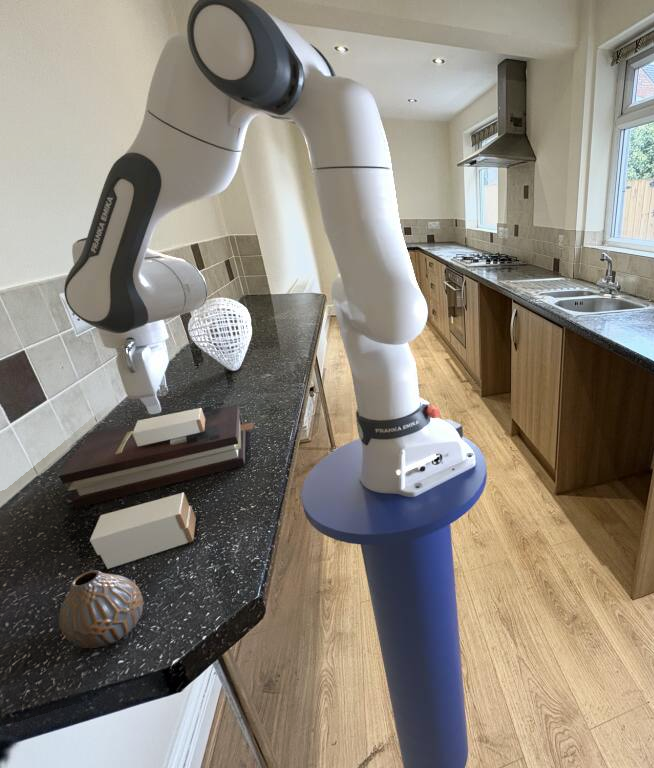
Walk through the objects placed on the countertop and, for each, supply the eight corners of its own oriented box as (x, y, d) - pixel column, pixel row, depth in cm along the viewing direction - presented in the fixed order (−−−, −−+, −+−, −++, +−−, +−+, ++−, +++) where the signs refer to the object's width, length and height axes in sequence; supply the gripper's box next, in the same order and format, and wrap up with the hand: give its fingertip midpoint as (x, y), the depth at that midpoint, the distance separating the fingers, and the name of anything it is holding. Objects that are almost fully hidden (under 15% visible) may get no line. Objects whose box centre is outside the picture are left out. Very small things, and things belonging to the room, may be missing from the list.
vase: (80, 626, 51) (48, 573, 47) (151, 596, 54) (127, 546, 51) (69, 671, 46) (33, 616, 42) (149, 635, 49) (122, 582, 46)
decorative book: (74, 429, 81) (249, 396, 95) (89, 461, 84) (257, 425, 98) (33, 479, 66) (249, 432, 80) (54, 517, 69) (258, 464, 83)
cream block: (205, 419, 85) (201, 407, 84) (204, 431, 80) (200, 419, 79) (142, 433, 80) (137, 420, 79) (137, 446, 75) (132, 433, 74)
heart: (264, 379, 126) (245, 307, 117) (203, 390, 118) (178, 314, 109) (260, 354, 147) (244, 292, 139) (208, 362, 140) (188, 297, 131)
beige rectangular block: (196, 518, 68) (185, 491, 66) (193, 541, 64) (182, 513, 61) (114, 543, 63) (100, 514, 61) (105, 570, 58) (89, 540, 56)
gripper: (148, 344, 66) (174, 420, 71) (164, 318, 82) (184, 382, 87) (95, 350, 63) (126, 429, 68) (122, 322, 79) (146, 388, 84)
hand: (159, 402), depth 78 cm, fingers open, 8 cm apart
